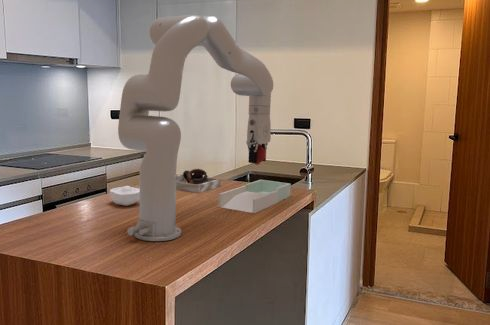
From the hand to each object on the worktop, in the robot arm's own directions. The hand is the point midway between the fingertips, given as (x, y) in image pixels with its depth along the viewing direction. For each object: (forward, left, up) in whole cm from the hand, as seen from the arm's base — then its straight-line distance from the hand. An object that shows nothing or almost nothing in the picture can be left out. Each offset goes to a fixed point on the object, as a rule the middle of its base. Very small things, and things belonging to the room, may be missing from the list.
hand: (257, 161), depth 164 cm
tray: (+10, 0, -15) cm, 18 cm away
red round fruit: (0, 0, -1) cm, 1 cm away
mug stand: (+8, +34, -15) cm, 38 cm away
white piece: (-5, 0, -16) cm, 16 cm away
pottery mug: (+10, +33, -15) cm, 38 cm away
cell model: (-30, +34, -15) cm, 48 cm away
